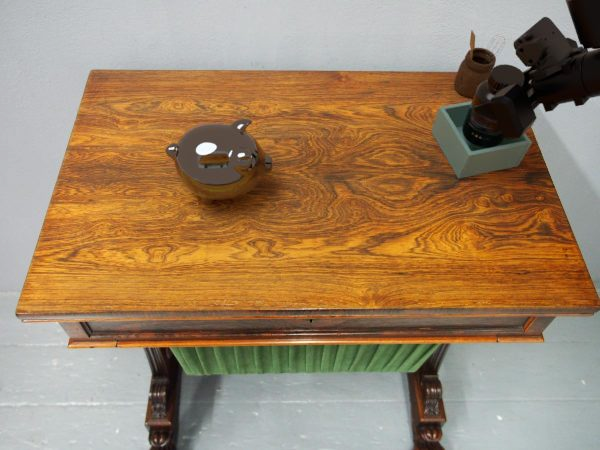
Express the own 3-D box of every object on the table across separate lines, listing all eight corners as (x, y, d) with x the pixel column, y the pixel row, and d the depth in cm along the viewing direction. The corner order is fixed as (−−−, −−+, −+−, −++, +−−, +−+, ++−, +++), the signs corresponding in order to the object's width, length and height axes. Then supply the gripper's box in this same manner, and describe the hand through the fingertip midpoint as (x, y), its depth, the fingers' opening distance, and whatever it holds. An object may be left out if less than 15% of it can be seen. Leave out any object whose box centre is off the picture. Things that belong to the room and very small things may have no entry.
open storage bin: (487, 120, 87) (498, 96, 83) (518, 166, 82) (532, 142, 77) (430, 131, 86) (439, 106, 81) (458, 178, 80) (469, 155, 75)
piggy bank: (274, 215, 75) (273, 164, 65) (173, 218, 74) (157, 167, 64) (272, 158, 81) (271, 105, 71) (178, 161, 80) (165, 107, 70)
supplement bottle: (472, 113, 83) (497, 53, 73) (510, 132, 81) (541, 72, 71) (452, 136, 80) (476, 76, 70) (491, 156, 78) (521, 97, 68)
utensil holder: (489, 97, 91) (515, 40, 81) (457, 100, 90) (479, 43, 80) (478, 76, 94) (502, 19, 84) (447, 78, 93) (467, 21, 83)
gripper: (606, -16, 64) (501, 24, 77) (534, 46, 56) (430, 79, 69) (631, 63, 67) (526, 88, 81) (566, 132, 59) (461, 147, 73)
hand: (488, 98), depth 76 cm, fingers closed on supplement bottle, 7 cm apart
